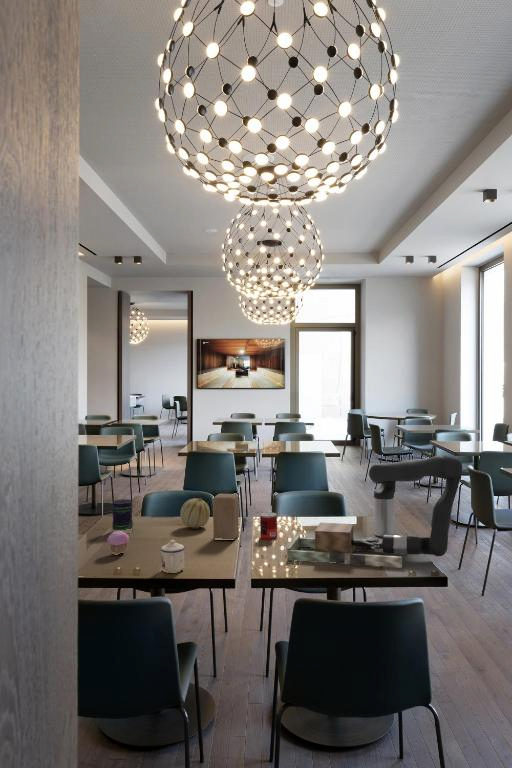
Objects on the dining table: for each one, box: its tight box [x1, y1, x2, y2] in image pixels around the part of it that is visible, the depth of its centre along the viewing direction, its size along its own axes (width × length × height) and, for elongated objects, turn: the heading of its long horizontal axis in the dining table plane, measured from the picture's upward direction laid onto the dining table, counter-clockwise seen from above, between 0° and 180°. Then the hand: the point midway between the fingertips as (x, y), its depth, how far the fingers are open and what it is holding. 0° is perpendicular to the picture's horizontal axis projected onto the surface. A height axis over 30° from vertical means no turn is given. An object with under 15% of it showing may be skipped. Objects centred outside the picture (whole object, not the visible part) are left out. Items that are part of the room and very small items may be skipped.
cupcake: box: [107, 531, 130, 553], centre depth 256 cm, size 9×9×10 cm
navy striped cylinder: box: [111, 499, 134, 530], centre depth 294 cm, size 10×10×15 cm
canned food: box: [259, 512, 278, 541], centre depth 278 cm, size 8×8×11 cm
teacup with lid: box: [160, 539, 185, 570], centre depth 232 cm, size 12×9×12 cm
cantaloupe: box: [180, 497, 211, 528], centre depth 299 cm, size 15×15×15 cm
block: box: [212, 493, 240, 540], centre depth 278 cm, size 10×10×20 cm
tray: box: [286, 534, 403, 569], centre depth 247 cm, size 45×20×5 cm, turn 75°
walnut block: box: [314, 522, 354, 554], centre depth 248 cm, size 14×14×12 cm
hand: (351, 542), depth 246 cm, fingers closed
